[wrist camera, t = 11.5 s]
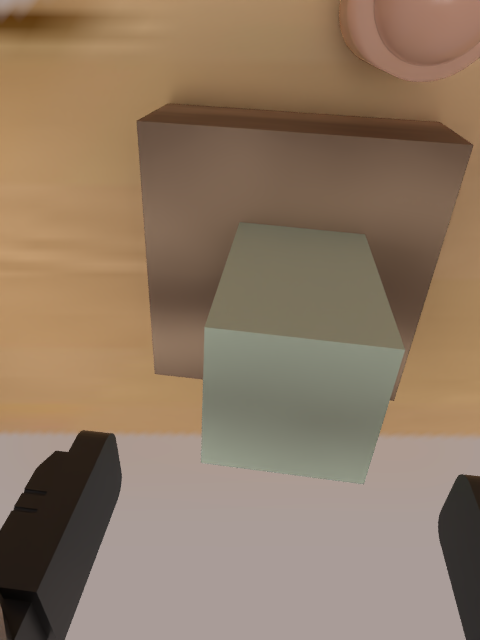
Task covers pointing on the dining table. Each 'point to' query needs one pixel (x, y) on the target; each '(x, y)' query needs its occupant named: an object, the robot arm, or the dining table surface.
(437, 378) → the dining table surface
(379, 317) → the green block
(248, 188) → the walnut block
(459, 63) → the terracotta shaker
